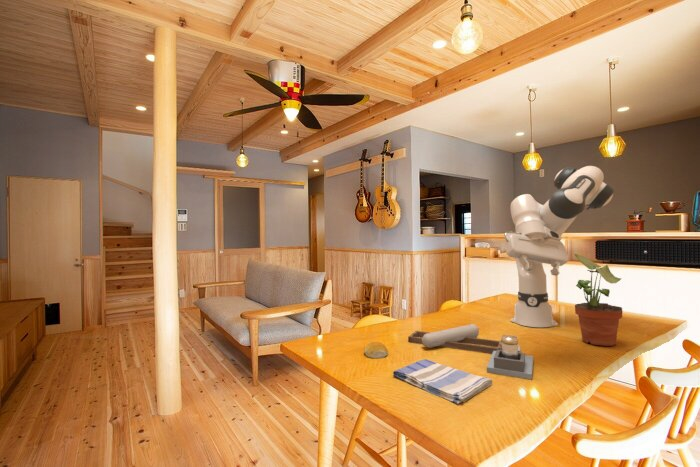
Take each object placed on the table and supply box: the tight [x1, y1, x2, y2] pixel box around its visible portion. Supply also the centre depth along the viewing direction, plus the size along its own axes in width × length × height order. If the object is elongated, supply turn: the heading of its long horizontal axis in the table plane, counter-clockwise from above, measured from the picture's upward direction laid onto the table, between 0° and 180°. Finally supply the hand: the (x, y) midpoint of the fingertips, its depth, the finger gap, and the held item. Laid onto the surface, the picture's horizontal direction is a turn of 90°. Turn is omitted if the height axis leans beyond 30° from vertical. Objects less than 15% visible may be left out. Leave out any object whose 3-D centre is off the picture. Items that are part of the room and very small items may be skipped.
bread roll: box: [363, 341, 389, 359], centre depth 121 cm, size 8×9×4 cm
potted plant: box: [574, 253, 623, 347], centre depth 125 cm, size 16×15×35 cm
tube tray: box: [407, 330, 502, 355], centre depth 129 cm, size 9×33×2 cm, turn 60°
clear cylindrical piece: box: [500, 334, 519, 360], centre depth 104 cm, size 5×5×8 cm
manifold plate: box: [486, 345, 534, 381], centre depth 107 cm, size 16×12×4 cm
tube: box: [421, 323, 480, 349], centre depth 129 cm, size 5×5×25 cm
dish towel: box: [392, 358, 493, 405], centre depth 98 cm, size 17×24×3 cm
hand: (542, 272), depth 106 cm, fingers open, 8 cm apart
